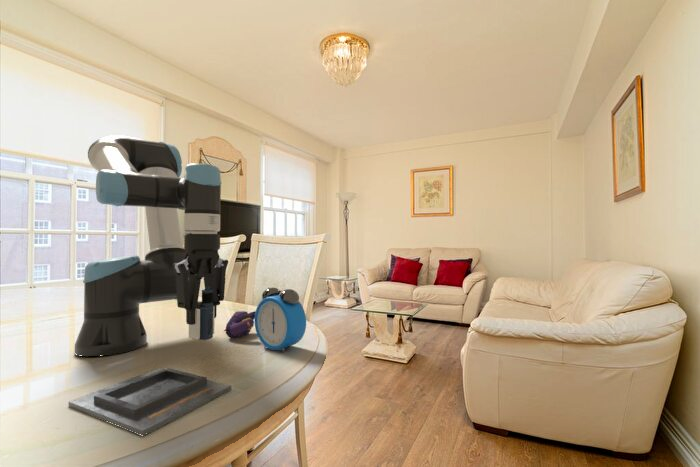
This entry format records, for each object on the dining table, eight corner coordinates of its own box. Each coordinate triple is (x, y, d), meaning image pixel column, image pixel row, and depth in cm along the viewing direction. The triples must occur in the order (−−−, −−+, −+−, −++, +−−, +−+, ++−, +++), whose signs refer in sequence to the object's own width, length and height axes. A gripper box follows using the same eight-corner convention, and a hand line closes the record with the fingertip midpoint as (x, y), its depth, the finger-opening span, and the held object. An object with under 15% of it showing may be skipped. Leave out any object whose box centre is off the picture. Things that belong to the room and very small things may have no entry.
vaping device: (208, 340, 74) (208, 287, 74) (187, 339, 75) (188, 286, 75) (215, 337, 77) (215, 285, 77) (195, 335, 78) (195, 284, 78)
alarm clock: (253, 346, 85) (253, 288, 86) (272, 340, 91) (271, 285, 91) (290, 356, 78) (289, 292, 78) (307, 349, 83) (307, 288, 83)
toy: (262, 331, 101) (264, 309, 101) (250, 344, 89) (251, 320, 89) (227, 328, 101) (228, 306, 101) (210, 341, 90) (211, 317, 90)
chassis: (68, 406, 55) (68, 394, 55) (160, 371, 69) (160, 362, 70) (142, 436, 46) (142, 422, 46) (231, 389, 61) (231, 378, 61)
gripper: (181, 233, 67) (180, 349, 67) (241, 233, 82) (240, 328, 82) (157, 232, 70) (156, 343, 70) (219, 232, 85) (218, 324, 85)
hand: (201, 335), depth 76 cm, fingers closed on vaping device, 3 cm apart
